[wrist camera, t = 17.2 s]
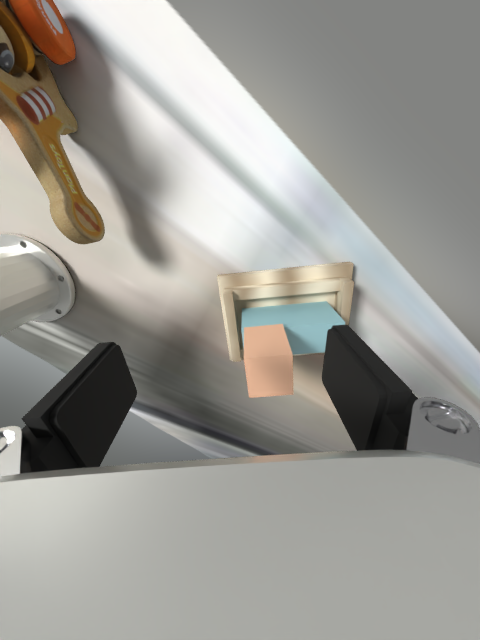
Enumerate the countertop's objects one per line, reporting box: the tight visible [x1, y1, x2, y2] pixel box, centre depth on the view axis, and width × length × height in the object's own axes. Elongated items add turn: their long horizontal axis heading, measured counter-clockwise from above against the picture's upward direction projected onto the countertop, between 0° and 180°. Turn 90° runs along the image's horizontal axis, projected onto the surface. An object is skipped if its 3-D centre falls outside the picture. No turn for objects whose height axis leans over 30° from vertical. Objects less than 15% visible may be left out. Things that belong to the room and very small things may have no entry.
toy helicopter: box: [0, 0, 105, 244], centre depth 18 cm, size 8×21×14 cm, turn 14°
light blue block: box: [241, 301, 345, 355], centre depth 29 cm, size 12×4×6 cm, turn 96°
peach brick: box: [244, 324, 293, 398], centre depth 24 cm, size 4×5×6 cm
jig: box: [217, 262, 354, 362], centre depth 32 cm, size 18×14×4 cm
